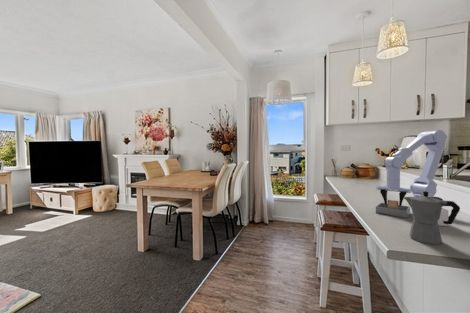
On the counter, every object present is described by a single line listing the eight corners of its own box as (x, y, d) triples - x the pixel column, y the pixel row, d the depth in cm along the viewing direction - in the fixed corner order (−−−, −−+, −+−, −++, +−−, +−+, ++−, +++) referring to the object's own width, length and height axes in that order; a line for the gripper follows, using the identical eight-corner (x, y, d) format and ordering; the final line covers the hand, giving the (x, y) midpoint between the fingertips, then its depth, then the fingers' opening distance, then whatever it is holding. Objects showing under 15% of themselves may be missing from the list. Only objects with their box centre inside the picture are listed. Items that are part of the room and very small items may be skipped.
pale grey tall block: (448, 226, 93) (449, 199, 93) (429, 225, 94) (429, 198, 94) (436, 221, 100) (437, 195, 100) (419, 220, 101) (419, 195, 101)
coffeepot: (399, 236, 82) (399, 190, 81) (407, 231, 87) (408, 187, 87) (456, 252, 69) (457, 197, 69) (462, 244, 74) (462, 193, 74)
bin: (410, 213, 113) (410, 206, 112) (406, 218, 104) (406, 211, 104) (380, 208, 122) (380, 202, 122) (375, 212, 113) (375, 206, 113)
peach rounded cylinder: (398, 212, 113) (399, 200, 113) (397, 213, 110) (397, 201, 110) (388, 210, 116) (388, 199, 116) (386, 211, 113) (386, 200, 113)
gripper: (375, 178, 115) (375, 203, 115) (409, 181, 105) (409, 208, 105) (378, 177, 120) (378, 201, 120) (411, 180, 110) (411, 206, 110)
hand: (392, 204), depth 113 cm, fingers open, 6 cm apart
